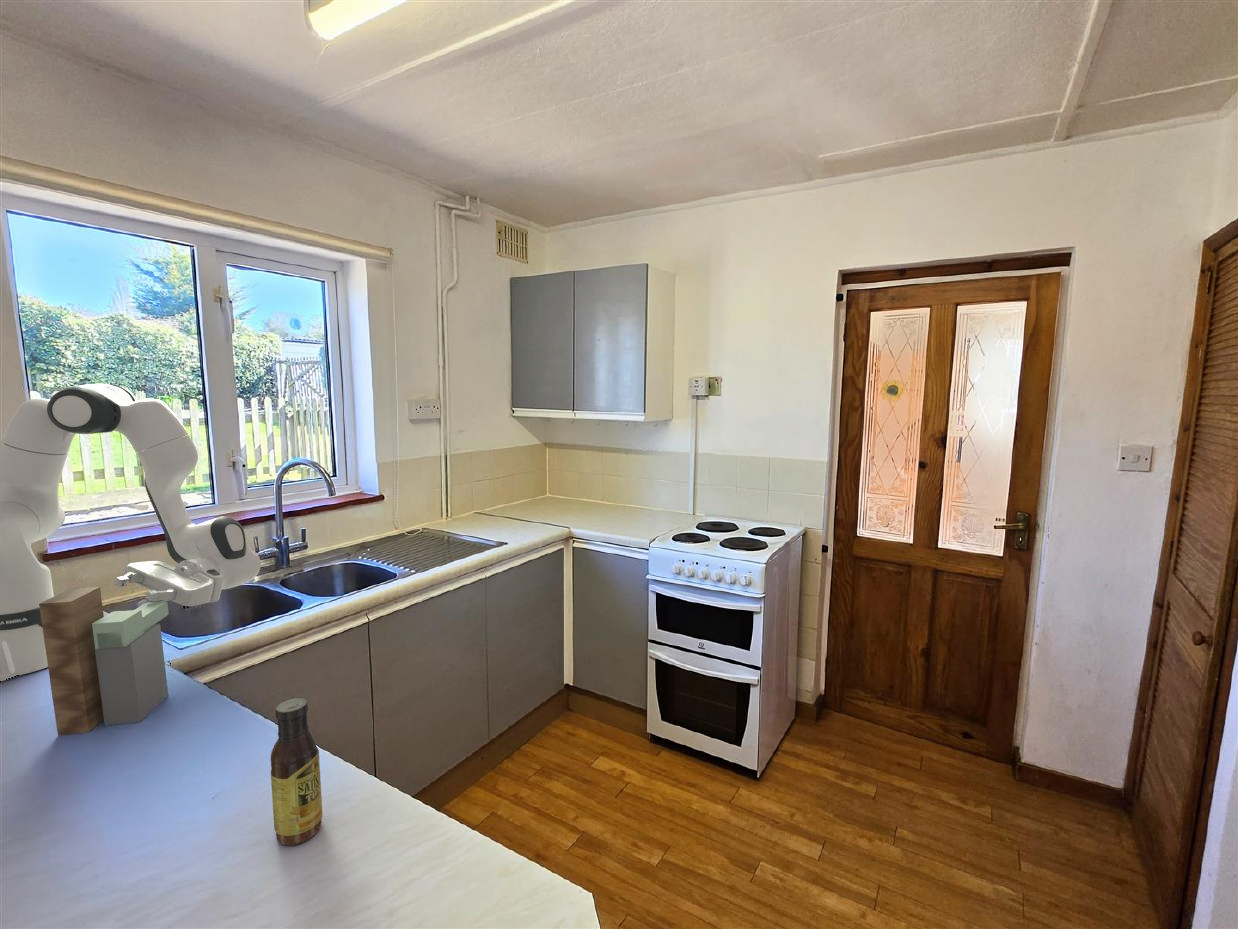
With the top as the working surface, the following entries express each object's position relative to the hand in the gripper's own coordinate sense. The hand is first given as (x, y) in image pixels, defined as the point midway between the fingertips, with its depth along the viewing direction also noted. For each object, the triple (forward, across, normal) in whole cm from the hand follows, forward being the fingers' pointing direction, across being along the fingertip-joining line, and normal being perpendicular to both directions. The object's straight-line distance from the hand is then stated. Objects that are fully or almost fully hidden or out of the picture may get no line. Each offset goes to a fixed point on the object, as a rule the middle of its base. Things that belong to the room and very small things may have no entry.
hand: (132, 589), depth 125 cm
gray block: (+5, +15, +20) cm, 25 cm away
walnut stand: (+11, +10, +21) cm, 26 cm away
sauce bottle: (+23, +71, +8) cm, 75 cm away
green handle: (+5, +10, +4) cm, 12 cm away
